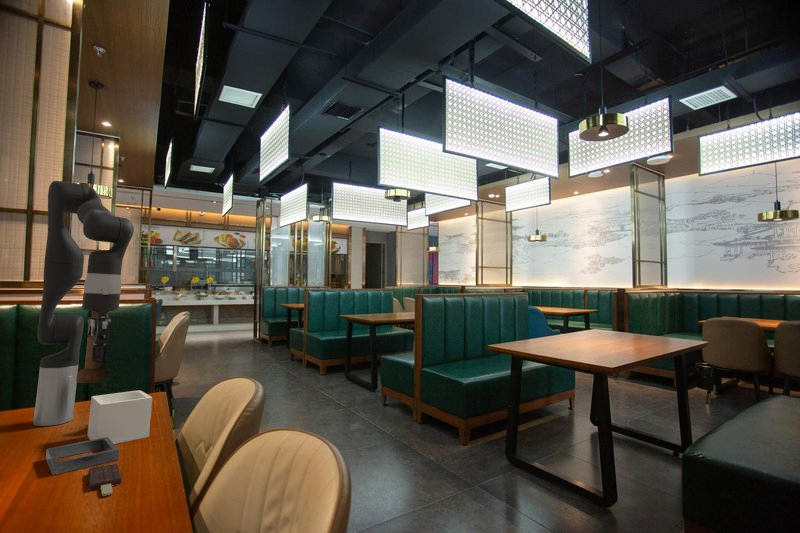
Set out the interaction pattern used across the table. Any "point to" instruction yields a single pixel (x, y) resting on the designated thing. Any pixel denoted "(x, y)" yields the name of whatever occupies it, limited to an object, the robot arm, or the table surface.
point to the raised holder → (120, 416)
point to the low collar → (82, 461)
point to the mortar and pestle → (93, 366)
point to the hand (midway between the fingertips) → (95, 359)
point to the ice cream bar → (104, 478)
